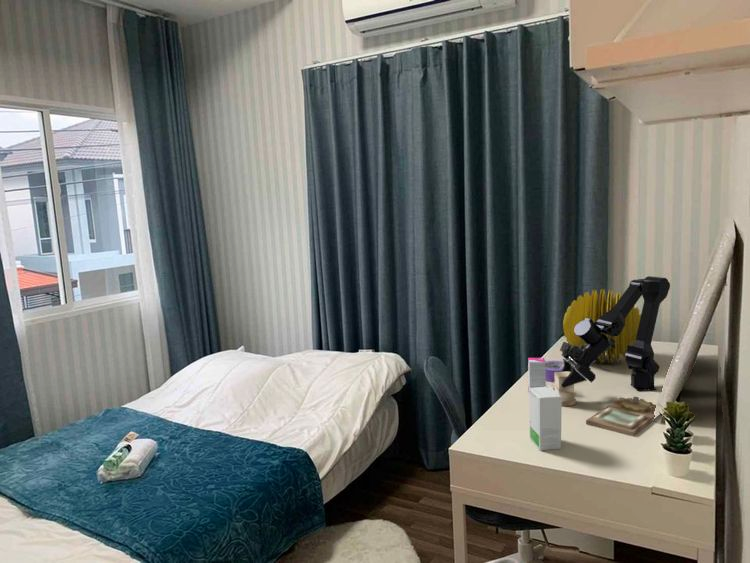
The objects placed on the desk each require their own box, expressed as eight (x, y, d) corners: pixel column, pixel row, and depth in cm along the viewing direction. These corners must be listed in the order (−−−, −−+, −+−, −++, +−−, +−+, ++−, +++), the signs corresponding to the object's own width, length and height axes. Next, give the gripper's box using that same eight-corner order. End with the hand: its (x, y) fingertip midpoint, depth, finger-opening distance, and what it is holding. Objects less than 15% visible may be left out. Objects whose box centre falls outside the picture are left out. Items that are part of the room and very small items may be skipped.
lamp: (643, 376, 206) (643, 296, 202) (559, 371, 220) (557, 295, 215) (644, 354, 233) (644, 282, 229) (568, 350, 246) (567, 282, 242)
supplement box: (546, 393, 197) (545, 361, 195) (529, 393, 198) (528, 362, 197) (545, 387, 203) (544, 357, 201) (528, 387, 204) (527, 357, 202)
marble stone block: (572, 398, 190) (571, 370, 189) (578, 406, 184) (578, 376, 182) (551, 399, 191) (550, 371, 189) (557, 407, 184) (556, 377, 182)
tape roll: (567, 384, 205) (567, 371, 204) (535, 381, 211) (535, 368, 210) (574, 374, 215) (574, 362, 214) (543, 371, 221) (543, 359, 220)
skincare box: (529, 439, 162) (527, 387, 160) (551, 436, 163) (550, 385, 160) (540, 451, 154) (538, 397, 152) (563, 449, 154) (562, 395, 152)
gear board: (621, 400, 185) (620, 388, 185) (665, 410, 175) (665, 397, 174) (586, 424, 169) (585, 410, 169) (632, 436, 159) (632, 422, 158)
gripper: (566, 327, 193) (535, 360, 195) (584, 341, 174) (549, 377, 177) (590, 348, 194) (558, 380, 196) (610, 364, 175) (575, 399, 177)
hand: (560, 383), depth 186 cm, fingers closed on marble stone block, 5 cm apart
